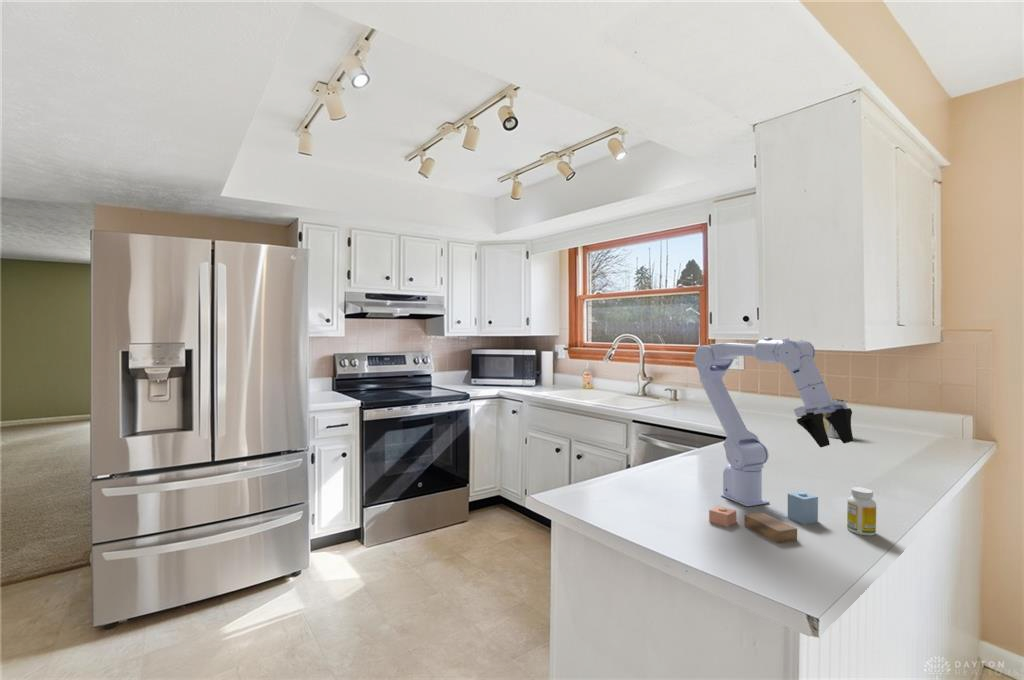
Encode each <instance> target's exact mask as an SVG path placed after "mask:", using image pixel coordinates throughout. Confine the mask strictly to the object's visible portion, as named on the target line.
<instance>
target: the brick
mask: <svg viewBox="0 0 1024 680" xmlns="http://www.w3.org/2000/svg"><path fill="white" fill-rule="evenodd" d="M708 521H709V522H710V523H713V524H717V525H720V526H724V527H726V528H728V527H730V526H732V525H734V524H735V523H737V510H736V509H732V508H730V507H726V506H725V507H724V506H721V505H716V506H714V507H712V508H710V509H709V510H708Z"/></svg>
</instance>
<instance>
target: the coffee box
mask: <svg viewBox="0 0 1024 680" xmlns="http://www.w3.org/2000/svg"><path fill="white" fill-rule="evenodd" d="M832 400H837V402H844V399H839V398H832ZM821 411H824V410H821ZM816 412H817V411H816ZM831 414H832V412H830V413H823V422H824V427H825V431H826V434H827V436H828V438H831V439H837V438H838V439H840V437H839V436H838V434H837V432H836V430H835V429H834V427H833V426H832V424H831V423H830V422H829V421H828V420H827V419H826V418H825V417H827V416H830V415H831Z"/></svg>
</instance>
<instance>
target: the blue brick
mask: <svg viewBox="0 0 1024 680" xmlns="http://www.w3.org/2000/svg"><path fill="white" fill-rule="evenodd" d="M787 519H790V520H792V521H795V522H798V523H801V524H802V525H808V524H814V523H818V521H819V496H816V495H814V494H810V493H807V492H805V491H801V490H799V491H794V492H789V493H787Z"/></svg>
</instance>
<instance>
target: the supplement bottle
mask: <svg viewBox="0 0 1024 680" xmlns="http://www.w3.org/2000/svg"><path fill="white" fill-rule="evenodd" d="M850 491H851V492H850V494H851V496H848V498H847V510H846V511H847V513H846V515H847V517H846V523H847V524H846V525H847V526H846V528H847V530H848V531H850V532H851V533H853V534H857V535H860V536H875V535H876V532H877V503H876V501H875V500H874V499H873V497H874V491H873V490H872V489H871V488H870V489H869V488H866V487H860V486H859V487H858V486H855V487H851V490H850Z"/></svg>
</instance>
